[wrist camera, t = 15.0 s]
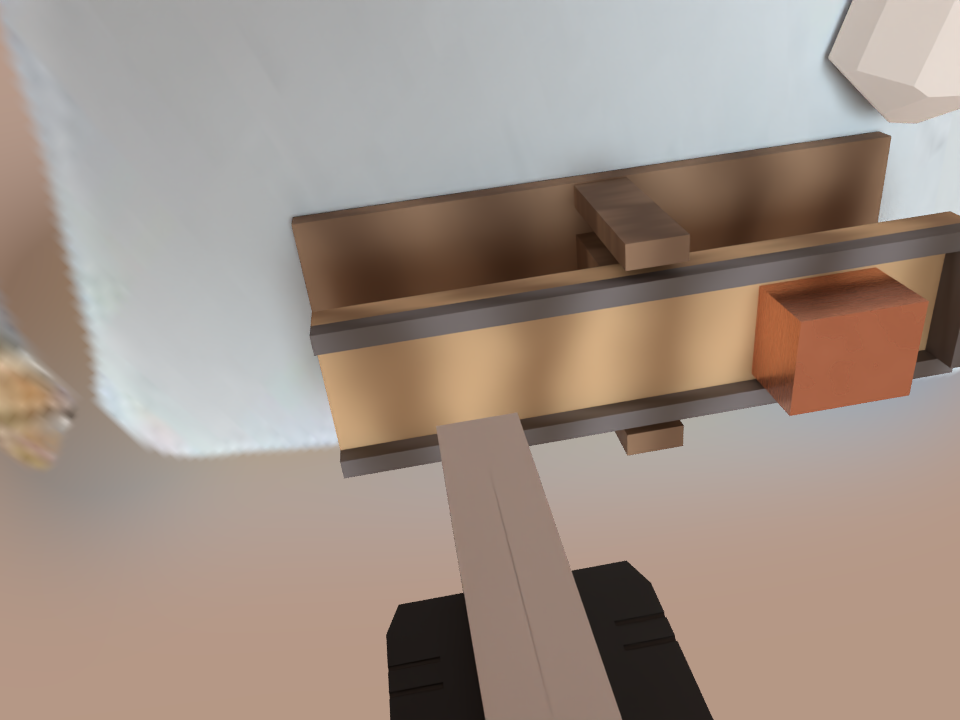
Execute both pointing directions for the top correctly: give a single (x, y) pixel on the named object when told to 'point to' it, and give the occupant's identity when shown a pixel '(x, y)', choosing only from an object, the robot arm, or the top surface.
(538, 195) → the stand
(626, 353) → the beam
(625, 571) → the robot arm
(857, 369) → the terracotta wooden block
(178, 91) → the top surface
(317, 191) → the top surface
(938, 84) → the crystal
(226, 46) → the top surface
